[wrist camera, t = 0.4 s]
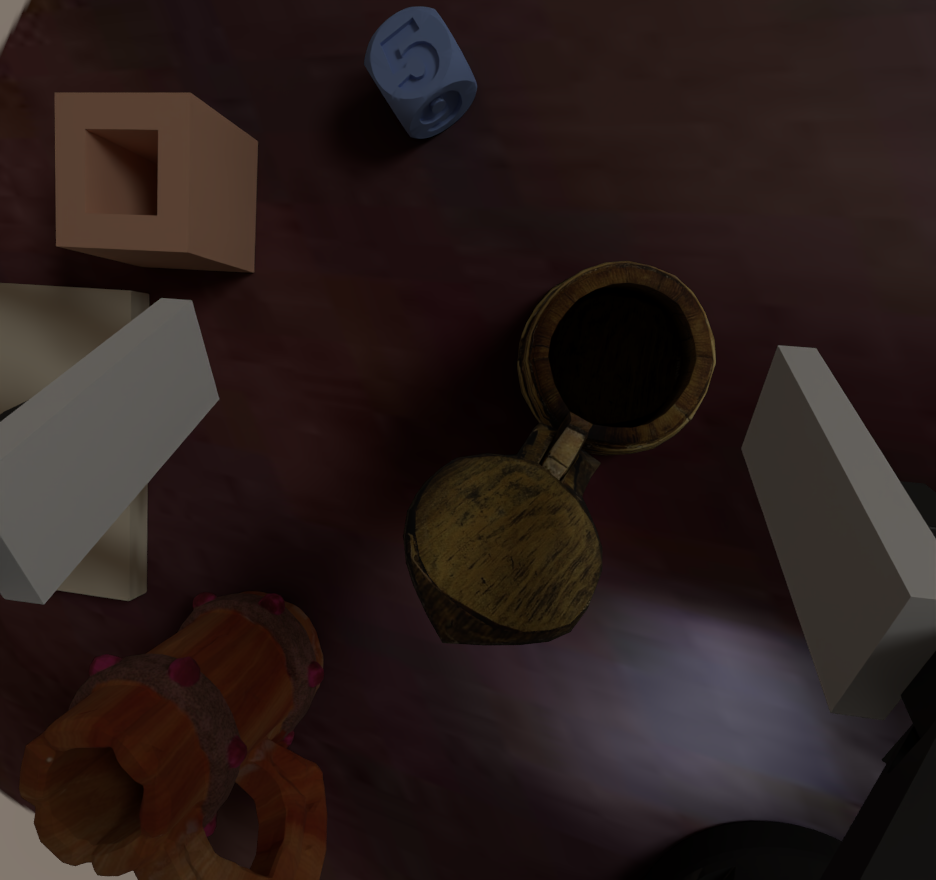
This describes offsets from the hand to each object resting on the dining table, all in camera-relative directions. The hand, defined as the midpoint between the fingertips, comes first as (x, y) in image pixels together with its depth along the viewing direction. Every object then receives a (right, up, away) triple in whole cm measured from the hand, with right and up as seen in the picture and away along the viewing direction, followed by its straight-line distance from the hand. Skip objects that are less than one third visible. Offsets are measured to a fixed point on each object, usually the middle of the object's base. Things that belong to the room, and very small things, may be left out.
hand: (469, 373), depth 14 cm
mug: (-10, -16, +23) cm, 29 cm away
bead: (-15, +12, +20) cm, 28 cm away
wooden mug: (+6, +1, +18) cm, 19 cm away
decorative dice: (-2, +16, +18) cm, 24 cm away
